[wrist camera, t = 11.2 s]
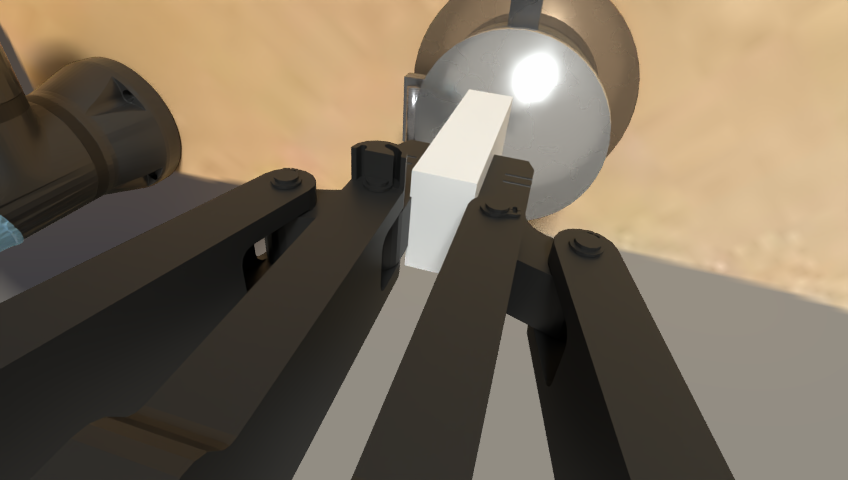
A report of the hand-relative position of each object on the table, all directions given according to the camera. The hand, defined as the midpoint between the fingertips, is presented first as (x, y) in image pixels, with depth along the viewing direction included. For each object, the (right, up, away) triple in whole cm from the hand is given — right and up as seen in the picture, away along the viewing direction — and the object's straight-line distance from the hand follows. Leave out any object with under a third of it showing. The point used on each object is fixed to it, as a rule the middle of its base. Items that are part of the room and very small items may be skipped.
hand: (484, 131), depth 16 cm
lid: (+4, +4, +17) cm, 18 cm away
